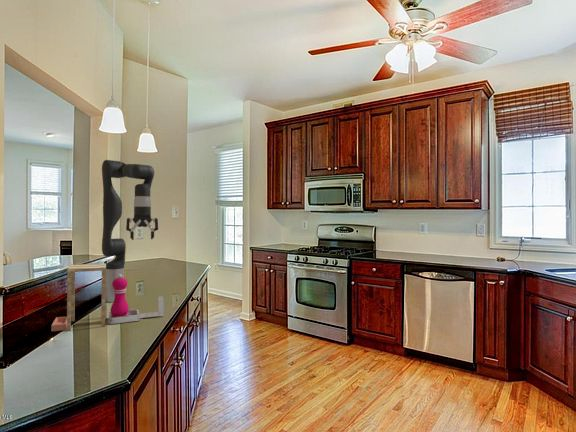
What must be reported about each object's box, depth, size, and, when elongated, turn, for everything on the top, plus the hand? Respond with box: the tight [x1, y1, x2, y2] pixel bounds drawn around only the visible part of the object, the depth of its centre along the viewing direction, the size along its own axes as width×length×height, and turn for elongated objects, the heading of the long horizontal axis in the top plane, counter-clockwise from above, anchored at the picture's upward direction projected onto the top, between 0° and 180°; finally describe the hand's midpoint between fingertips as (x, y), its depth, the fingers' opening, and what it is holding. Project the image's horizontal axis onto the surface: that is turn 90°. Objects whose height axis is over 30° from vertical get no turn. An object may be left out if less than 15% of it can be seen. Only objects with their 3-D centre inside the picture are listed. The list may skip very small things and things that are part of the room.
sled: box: [108, 295, 165, 325], centre depth 159 cm, size 11×22×8 cm, turn 116°
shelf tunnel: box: [66, 262, 107, 332], centre depth 150 cm, size 15×13×24 cm
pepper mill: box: [110, 274, 130, 317], centre depth 156 cm, size 7×7×20 cm
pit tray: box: [50, 316, 67, 332], centre depth 146 cm, size 12×5×2 cm, turn 26°
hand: (142, 239), depth 173 cm, fingers open, 8 cm apart
